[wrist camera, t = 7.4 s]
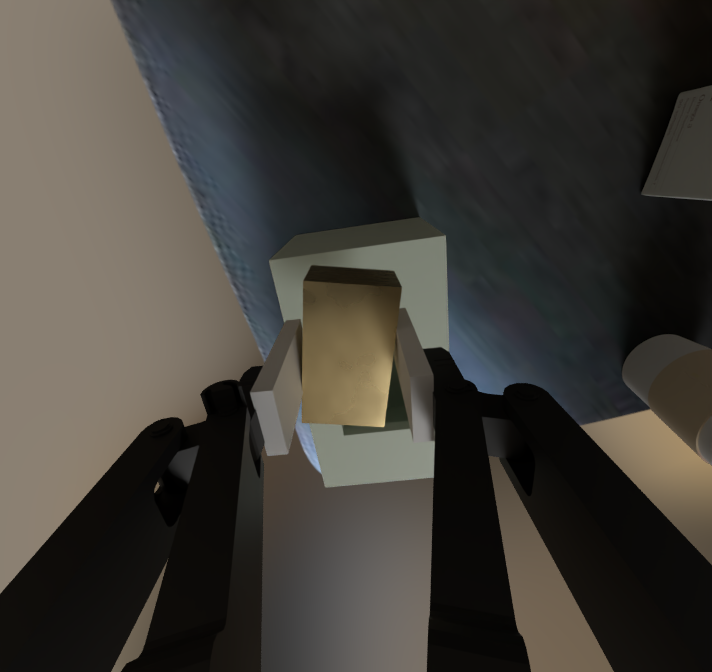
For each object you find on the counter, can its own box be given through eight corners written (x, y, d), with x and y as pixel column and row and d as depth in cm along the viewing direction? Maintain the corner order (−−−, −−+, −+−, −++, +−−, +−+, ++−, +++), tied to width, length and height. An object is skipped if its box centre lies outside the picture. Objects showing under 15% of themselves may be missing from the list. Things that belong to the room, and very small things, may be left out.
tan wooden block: (311, 264, 16) (303, 280, 14) (394, 270, 17) (402, 287, 14) (309, 388, 19) (301, 422, 17) (379, 392, 19) (384, 427, 17)
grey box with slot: (295, 235, 30) (268, 260, 21) (419, 217, 30) (445, 235, 21) (333, 414, 39) (325, 487, 30) (430, 404, 38) (452, 475, 29)
